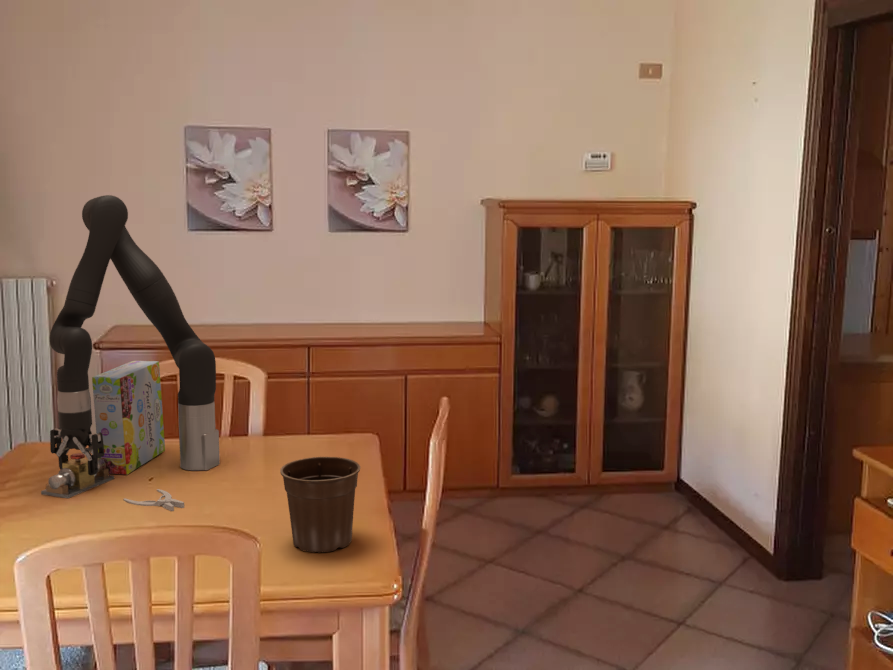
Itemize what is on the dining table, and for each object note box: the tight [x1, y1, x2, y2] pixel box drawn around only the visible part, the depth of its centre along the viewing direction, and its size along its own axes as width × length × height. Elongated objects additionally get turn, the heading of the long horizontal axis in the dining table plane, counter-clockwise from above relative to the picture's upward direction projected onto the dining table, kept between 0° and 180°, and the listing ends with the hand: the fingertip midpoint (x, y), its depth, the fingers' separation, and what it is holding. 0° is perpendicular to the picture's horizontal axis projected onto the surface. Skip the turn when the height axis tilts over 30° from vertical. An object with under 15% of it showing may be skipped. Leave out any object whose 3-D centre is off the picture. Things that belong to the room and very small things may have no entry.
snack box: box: [91, 360, 166, 476], centre depth 243 cm, size 22×9×26 cm, turn 171°
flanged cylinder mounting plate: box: [40, 458, 115, 499], centre depth 225 cm, size 16×8×6 cm, turn 160°
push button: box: [62, 452, 95, 487], centre depth 225 cm, size 5×5×7 cm
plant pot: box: [280, 456, 361, 553], centre depth 190 cm, size 16×16×16 cm
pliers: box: [123, 488, 185, 512], centre depth 215 cm, size 10×2×15 cm
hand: (78, 472), depth 225 cm, fingers open, 8 cm apart
